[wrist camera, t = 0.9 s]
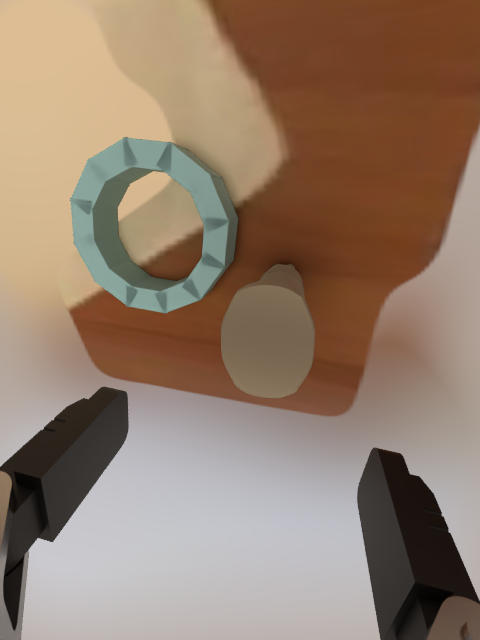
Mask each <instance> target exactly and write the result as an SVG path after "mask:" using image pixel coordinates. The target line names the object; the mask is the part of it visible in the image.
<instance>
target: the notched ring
mask: <svg viewBox="0 0 480 640" xmlns="http://www.w3.org/2000/svg"><path fill="white" fill-rule="evenodd" d="M152 171H158V172H165V173H167V174H168V175H169V176H170V177H172V178H173V179H174V180H175V181H177V182H178V183H179V184H180V185H182V186H183V187H184V188H185V189H187V190H188V191H189V192H190V193H191V195H192V198H193V200H194V202H195V205H196V207H197V209H198V212H199V214H200V216H201V219H202V221H203V223H204V235H203V249H202V258H201V260H200V261H199V262H198V264H197V265H196V267H195V268H194V270H193V271H192V273H191V274H190V276H188V277H186V278H183V279H181V280H178V281H173V280H167V279H161V278H155V277H151V276H150V275H149V274H148V273H146V272H145V271H144V270H142V269H141V268H140V267H138V266H137V265H136V264H135V263H133V262H132V261H131V260H130V258H129V256H128V254H127V252H126V250H125V248H124V246H123V244H122V242H121V240H120V238H119V236H118V212H117V211H118V206H119V204H120V202H121V200H122V198H123V196H124V194H125V192H126V190H127V188H128V187H129V184H130V183H132V182H134V181H136V180H138V179H139V178H141V177H143V176H145V175H147V174H148V173H150V172H152ZM70 201H71V211H72V224H73V236H74V245H75V246H76V248H77V250H78V251H79V253H80V255H81V257H82V259H83V261H84V262H85V264H86V266H87V268H88V270H89V271H90V273H91V275H92V277H93V279H94V281H95V282H96V283H98V284H99V285H100V286H102V287H103V288H104V289H106V290H107V291H108V292H110V293H111V294H112V295H114V296H115V297H116V298H118V299H119V300H120V301H122V302H123V303H124V304H125V305H127V306H128V307H135V308H140V309H146V310H151V311H157V312H162V313H168V312H169V311H172V310H175V309H177V308H180V307H183V306H185V305H188V304H191V303H193V302H196V301H200V300H201V299H202V298H203V297H204V296H205V295H207V294H208V293H209V292H210V291H211V290H212V289H213V287H214V285H215V284H216V283H217V281H218V280H219V278H220V277H221V276H222V274H223V273H224V272H225V270H226V269H227V268H228V266H229V265H230V264H231V262H232V261H234V253H235V244H236V234H237V225H238V220H239V219H238V217H237V214H236V212H235V209H234V207H233V204H232V202H231V199H230V197H229V194H228V192H227V189H226V187H225V184H224V182H223V178H222V177H221V176H219V175H218V174H217V173H215V172H214V171H213V170H212V169H211V168H209V167H208V166H207V165H206V164H204V163H203V162H202V161H201V160H199V159H198V158H197V157H196V156H195V155H193V154H192V153H191V152H190V151H189V150H188V149H185V148H183V147H181V146H178V145H176V144H174V143H171V142H161V141H151V140H142V139H133V138H128V137H125V138H123V139H122V140H120V141H118V142H117V143H115V144H113V145H112V146H110V147H108V148H107V149H105V150H104V151H102V152H100V153H99V154H97V155H95V156H94V157H92V158H90V159H88V160H87V163H86V166H85V168H84V170H83V172H82V175H81V177H80V179H79V181H78V184H77V186H76V188H75V190H74V193H73V195H72V197H71V198H70Z"/></svg>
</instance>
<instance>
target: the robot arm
mask: <svg viewBox="0 0 480 640" xmlns="http://www.w3.org/2000/svg"><path fill="white" fill-rule="evenodd" d="M127 433H128V397H127V393H126V392H125V391H122V390H117V389H113V388H108V387H102V388H100V389H99V390H98V391H97V392H96V393H95V394H94V395H93V396H92V397H91V398H89V399H84V398H83V399H81V400H79V401H77V402H75V403H73V404H72V405H70V406H67V407H66V408H65V409H64V410H63V411H62V412H61V413H60V414H58V415H57V416H56V417H55V418H54V420H52V421H51V422H49V423H48V424H47V425H46V426H45V427H44V429H43V430H41V431H40V432H38V434H36V435H35V436H34V437H33V438H32V439H31V440H29V442H27V443H26V444H25V445H24V446H23V447H22V448H21V449H20V450H18V451H17V452H16V453H15V454H14V455H13V456H12V457H11V458H9V459H8V460H7V461H6V462H5V463H4V464H3V465H2V466H1V467H0V640H21V631H22V620H23V619H22V618H23V610H24V598H25V589H26V579H27V568H28V558H29V552H28V550H29V549H30V547H31V545H32V544H33V543H34V542H35V541H36V539H37V538H41V539H44V540H47V541H50V542H53V541H54V540H55V538H56V537H57V535H58V534H59V533H60V531H61V530H62V529H63V527H64V526H65V524H66V523H67V522H68V520H69V519H70V517H71V516H72V515H73V513H74V512H75V511H76V509H77V508H78V506H79V505H80V504H81V502H82V501H83V499H84V498H85V497H86V495H87V494H88V493H89V491H90V490H91V488H92V487H93V485H94V484H95V483H96V481H97V480H98V478H99V477H100V476H101V474H102V473H103V471H104V470H105V469H106V467H107V466H108V465H109V463H110V462H111V461H112V459H113V458H114V457H115V455H116V454H117V452H118V451H119V450H120V448H121V447H122V445H123V443H124V441H125V439H126V437H127ZM357 501H358V509H359V515H360V521H361V527H362V532H363V539H364V545H365V551H366V556H367V562H368V568H369V574H370V580H371V586H372V592H373V598H374V604H375V610H376V615H377V621H378V627H379V633H380V639H381V640H480V601H479V599H478V597H477V594H476V592H475V590H474V587H473V585H472V582H471V581H470V578H469V576H468V573H467V571H466V568H465V566H464V564H463V561H462V559H461V557H460V554H459V552H458V550H457V548H456V545H455V543H454V540H453V538H452V536H451V534H450V533H449V532H448V526H447V524H446V522H445V519H444V517H443V516H442V515H441V514H442V512H441V510H440V508H439V506H438V503H437V501H436V498H435V496H434V494H433V493H432V491H431V490H430V489H429V488H428V486H427V485H426V484H425V483H424V482H423V480H422V479H421V478H420V477H419V476H415V475H410V473H409V471H408V468H407V465H406V463H405V460H404V458H403V456H402V454H400V453H396V452H392V451H388V450H383V449H379V448H373V449H372V450H371V453H370V455H369V458H368V461H367V463H366V466H365V469H364V471H363V474H362V477H361V480H360V483H359V486H358V496H357Z"/></svg>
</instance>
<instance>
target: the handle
mask: <svg viewBox="0 0 480 640" xmlns="http://www.w3.org/2000/svg"><path fill="white" fill-rule="evenodd" d="M314 344H315V326H314V321H313V318H312V315H311V313H310V310H309V308H308V305H307V303H306V301H305V298H304V286H303V281H302V278H301V276H300V274H299V273H298V272H297V271H296V270H295V268H294V266H293V265H292V264H288V265H281V264H279V263H277V264H275V265H273V267H272V268H270V269H269V270H267V271H266V272H265V273H264V275H263V276H262V277H261V279H260V280H259V281H257V282H252V283H250V284H247V285H245V286H244V287H242V288H240V289H239V290H238V291H237V292H236V294H235V296H234V298H233V300H232V302H231V304H230V305H229V307H228V310H227V312H226V314H225V316H224V319H223V322H222V327H221V351H222V358H223V361H224V364H225V367H226V369H227V370H228V372H229V374H230V376H231V378H232V380H233V382H234V384H235V386H236V387H238V388H239V389H240V390H242V391H244V392H246V393H248V394H251V395H254V396H258V397H264V398H279V397H285V396H288V395H291V394H293V393H295V392H296V390H297V389H298V388H299V386H300V385H301V383H302V382H303V380H304V379H305V377H306V376H307V374H308V372H309V370H310V368H311V366H312V361H313V354H314Z"/></svg>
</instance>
